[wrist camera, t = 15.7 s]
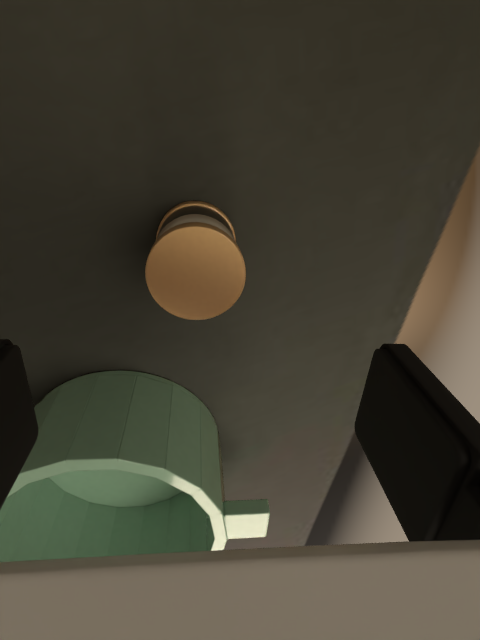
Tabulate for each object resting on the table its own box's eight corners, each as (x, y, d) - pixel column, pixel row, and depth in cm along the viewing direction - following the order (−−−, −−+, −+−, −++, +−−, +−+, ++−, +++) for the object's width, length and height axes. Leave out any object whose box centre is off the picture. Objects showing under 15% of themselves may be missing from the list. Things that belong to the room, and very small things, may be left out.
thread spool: (155, 198, 20) (142, 224, 15) (237, 202, 21) (249, 228, 16) (158, 275, 22) (147, 319, 17) (232, 277, 23) (242, 321, 18)
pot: (-39, 370, 24) (-129, 466, 17) (262, 369, 26) (284, 453, 20) (9, 512, 30) (-44, 621, 24) (247, 502, 33) (259, 598, 26)
